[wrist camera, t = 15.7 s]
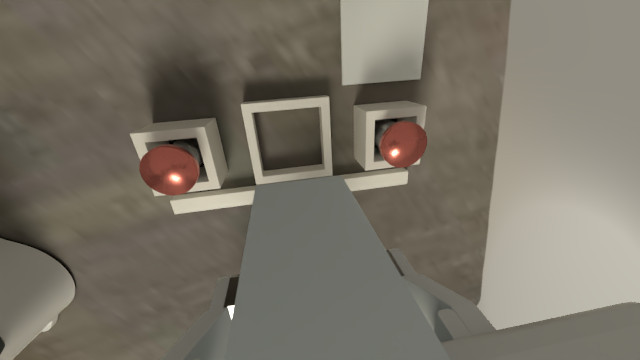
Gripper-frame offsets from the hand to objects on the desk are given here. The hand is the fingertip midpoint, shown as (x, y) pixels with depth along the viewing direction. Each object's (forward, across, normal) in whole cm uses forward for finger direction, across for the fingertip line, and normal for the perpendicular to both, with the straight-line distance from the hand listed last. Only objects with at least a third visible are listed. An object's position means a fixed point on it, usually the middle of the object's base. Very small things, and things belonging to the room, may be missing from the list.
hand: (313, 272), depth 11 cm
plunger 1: (+23, +12, 0) cm, 26 cm away
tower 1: (+23, +12, 0) cm, 26 cm away
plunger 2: (+22, -12, 0) cm, 25 cm away
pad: (+23, -12, -12) cm, 29 cm away
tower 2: (+23, -12, 0) cm, 26 cm away
